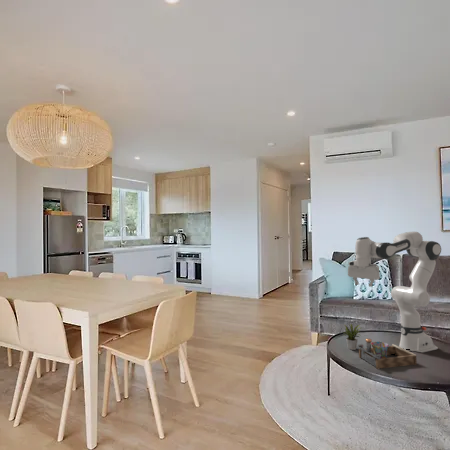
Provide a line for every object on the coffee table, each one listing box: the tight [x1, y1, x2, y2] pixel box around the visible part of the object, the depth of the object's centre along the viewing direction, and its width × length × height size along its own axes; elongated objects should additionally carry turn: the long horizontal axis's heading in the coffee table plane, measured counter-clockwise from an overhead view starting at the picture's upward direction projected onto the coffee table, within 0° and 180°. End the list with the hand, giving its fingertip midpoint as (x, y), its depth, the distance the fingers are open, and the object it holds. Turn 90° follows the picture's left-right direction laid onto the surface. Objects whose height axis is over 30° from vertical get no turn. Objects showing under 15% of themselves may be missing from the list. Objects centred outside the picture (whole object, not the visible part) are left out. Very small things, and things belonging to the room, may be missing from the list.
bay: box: [358, 343, 418, 370], centre depth 195 cm, size 25×19×6 cm
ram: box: [357, 338, 381, 368], centre depth 193 cm, size 3×19×13 cm, turn 11°
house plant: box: [342, 323, 362, 351], centre depth 217 cm, size 14×14×16 cm
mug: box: [371, 341, 390, 358], centre depth 194 cm, size 12×9×11 cm
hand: (363, 285), depth 206 cm, fingers open, 8 cm apart
